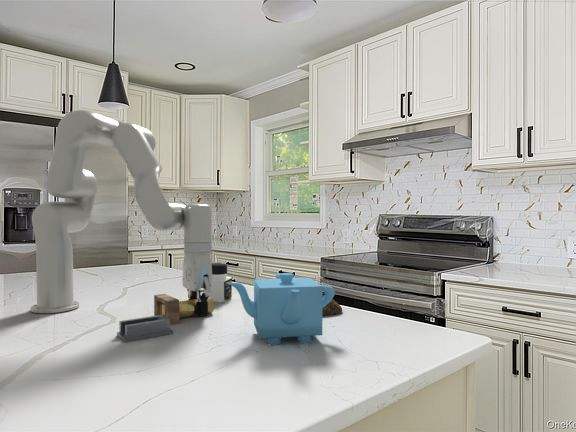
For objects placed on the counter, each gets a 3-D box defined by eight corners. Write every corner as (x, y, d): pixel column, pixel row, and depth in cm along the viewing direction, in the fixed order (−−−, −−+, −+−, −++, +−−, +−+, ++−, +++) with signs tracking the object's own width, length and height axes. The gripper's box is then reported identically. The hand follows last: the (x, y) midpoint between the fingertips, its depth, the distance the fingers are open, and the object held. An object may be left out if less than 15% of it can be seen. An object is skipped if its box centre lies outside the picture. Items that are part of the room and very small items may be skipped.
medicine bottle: (224, 303, 135) (224, 264, 135) (203, 302, 136) (202, 264, 136) (232, 298, 142) (231, 262, 142) (211, 297, 143) (211, 261, 143)
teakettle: (340, 334, 101) (340, 272, 101) (296, 356, 86) (296, 283, 86) (275, 322, 112) (275, 266, 112) (226, 340, 97) (226, 275, 97)
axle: (164, 323, 113) (166, 307, 112) (158, 316, 116) (160, 300, 115) (213, 315, 121) (214, 300, 120) (206, 309, 124) (207, 294, 124)
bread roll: (303, 318, 117) (303, 300, 117) (294, 308, 129) (294, 291, 129) (348, 316, 119) (348, 298, 119) (335, 306, 132) (335, 290, 132)
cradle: (116, 335, 100) (116, 321, 100) (162, 327, 107) (162, 314, 107) (124, 342, 95) (124, 327, 95) (172, 333, 102) (172, 319, 102)
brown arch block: (154, 317, 118) (154, 295, 118) (164, 315, 119) (164, 293, 119) (167, 324, 110) (167, 301, 110) (179, 323, 111) (179, 299, 111)
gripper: (173, 246, 124) (173, 310, 125) (198, 251, 111) (198, 322, 111) (197, 245, 129) (197, 306, 129) (224, 250, 115) (224, 318, 115)
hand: (198, 313), depth 120 cm, fingers closed on axle, 4 cm apart
